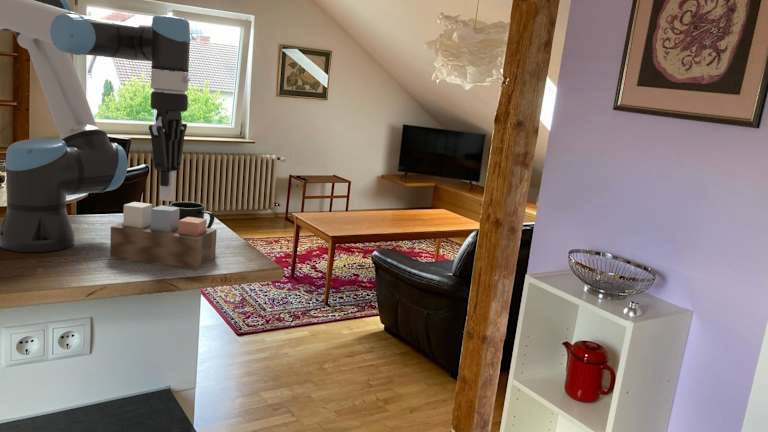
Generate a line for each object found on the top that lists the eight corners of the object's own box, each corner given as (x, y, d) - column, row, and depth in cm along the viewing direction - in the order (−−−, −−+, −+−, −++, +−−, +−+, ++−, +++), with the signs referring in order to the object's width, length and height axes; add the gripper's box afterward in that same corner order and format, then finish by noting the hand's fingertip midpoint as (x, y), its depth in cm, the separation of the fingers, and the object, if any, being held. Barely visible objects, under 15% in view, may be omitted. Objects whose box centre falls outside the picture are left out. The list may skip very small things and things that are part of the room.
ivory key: (123, 235, 141) (123, 205, 139) (133, 231, 145) (134, 201, 144) (141, 238, 140) (142, 207, 139) (151, 234, 145) (152, 204, 143)
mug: (199, 251, 150) (201, 212, 148) (160, 242, 155) (162, 204, 153) (221, 245, 158) (223, 208, 156) (184, 236, 162) (185, 200, 160)
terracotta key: (177, 251, 140) (179, 220, 138) (186, 246, 144) (188, 216, 142) (196, 254, 139) (198, 223, 138) (205, 249, 143) (206, 219, 142)
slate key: (150, 239, 140) (151, 208, 139) (160, 235, 144) (161, 205, 143) (169, 242, 140) (170, 211, 138) (178, 237, 144) (179, 207, 142)
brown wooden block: (110, 257, 139) (110, 226, 138) (134, 246, 149) (135, 217, 148) (196, 270, 137) (197, 239, 135) (215, 258, 146) (216, 229, 145)
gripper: (171, 93, 128) (168, 207, 133) (199, 93, 141) (195, 197, 146) (137, 89, 129) (135, 202, 134) (167, 90, 142) (165, 193, 147)
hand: (166, 199), depth 140 cm, fingers closed
